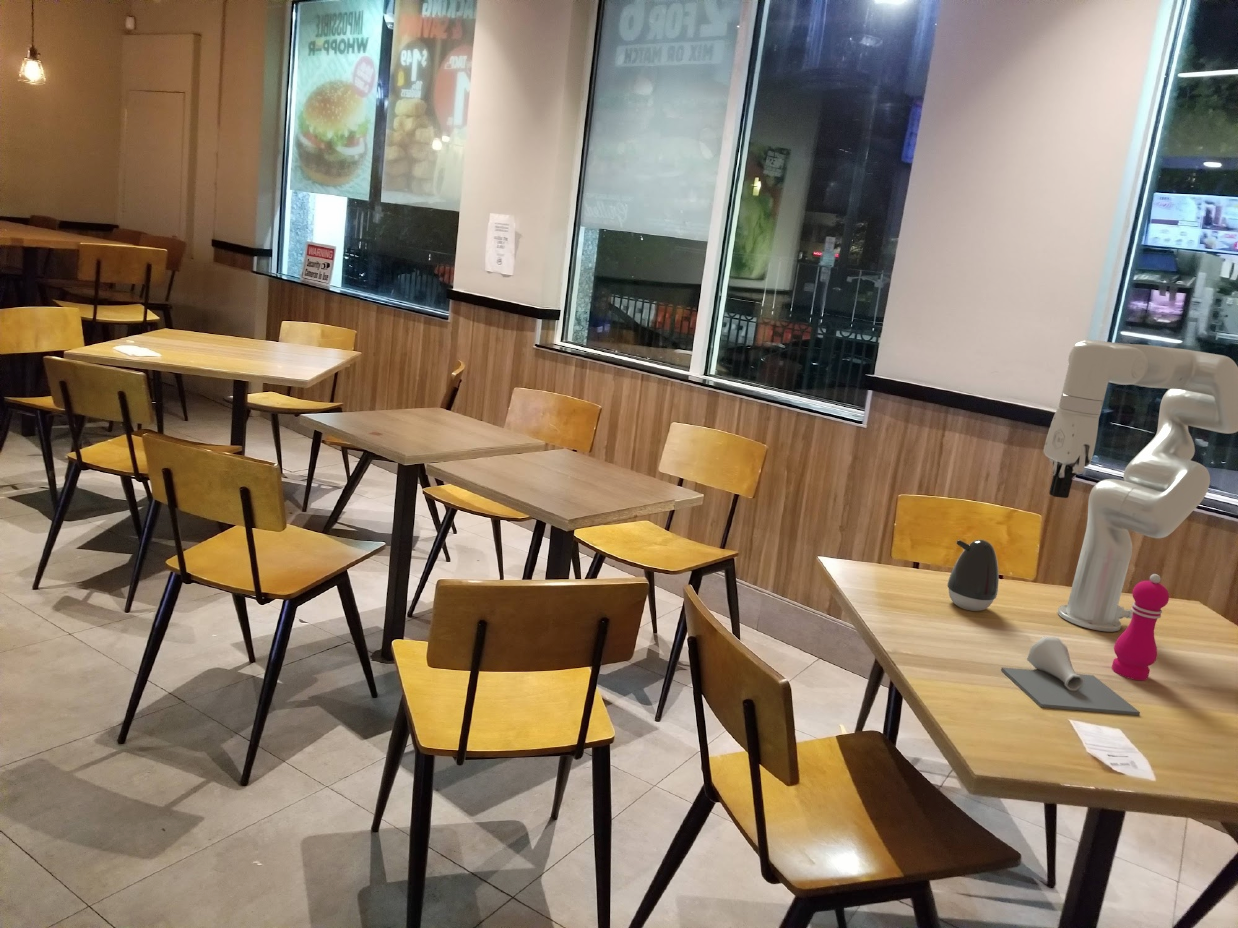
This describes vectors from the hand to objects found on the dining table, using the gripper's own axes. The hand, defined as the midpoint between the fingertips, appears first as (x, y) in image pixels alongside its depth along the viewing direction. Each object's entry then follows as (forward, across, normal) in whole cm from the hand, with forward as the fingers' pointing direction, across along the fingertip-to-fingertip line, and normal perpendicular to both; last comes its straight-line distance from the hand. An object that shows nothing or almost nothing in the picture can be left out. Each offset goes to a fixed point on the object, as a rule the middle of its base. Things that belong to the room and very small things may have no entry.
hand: (1058, 496), depth 190 cm
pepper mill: (+29, +17, +12) cm, 36 cm away
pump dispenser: (+29, -12, -7) cm, 32 cm away
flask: (+26, +19, -7) cm, 32 cm away
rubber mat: (+29, +28, -7) cm, 41 cm away
